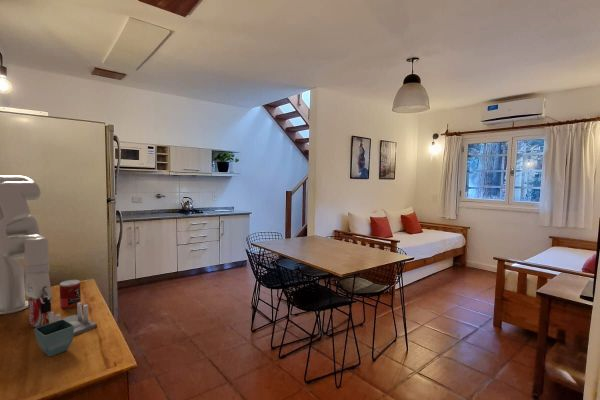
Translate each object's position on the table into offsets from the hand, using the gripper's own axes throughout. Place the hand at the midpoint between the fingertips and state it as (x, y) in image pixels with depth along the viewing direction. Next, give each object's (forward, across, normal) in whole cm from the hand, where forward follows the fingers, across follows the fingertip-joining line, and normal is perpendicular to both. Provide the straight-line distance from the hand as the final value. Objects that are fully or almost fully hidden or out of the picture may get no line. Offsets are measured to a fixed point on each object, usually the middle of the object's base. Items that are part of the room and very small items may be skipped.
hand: (39, 309), depth 127 cm
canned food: (+6, -10, +16) cm, 20 cm away
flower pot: (+7, +26, -7) cm, 28 cm away
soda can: (+6, -1, 0) cm, 6 cm away
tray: (+7, +12, +4) cm, 14 cm away
